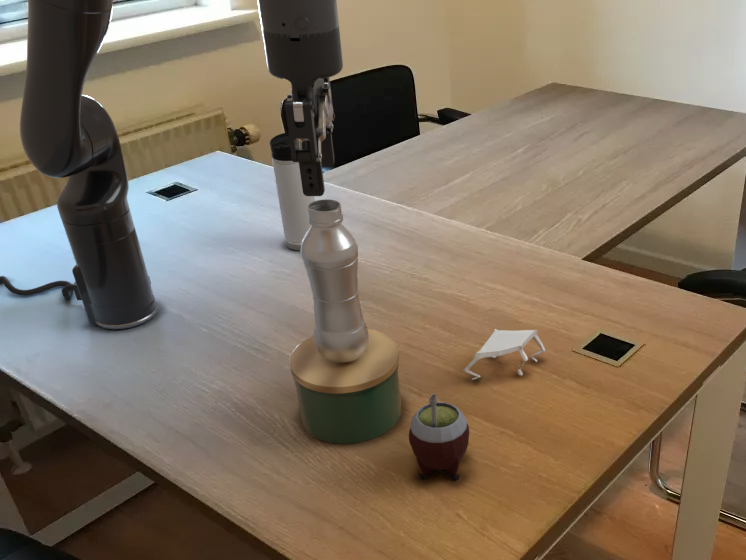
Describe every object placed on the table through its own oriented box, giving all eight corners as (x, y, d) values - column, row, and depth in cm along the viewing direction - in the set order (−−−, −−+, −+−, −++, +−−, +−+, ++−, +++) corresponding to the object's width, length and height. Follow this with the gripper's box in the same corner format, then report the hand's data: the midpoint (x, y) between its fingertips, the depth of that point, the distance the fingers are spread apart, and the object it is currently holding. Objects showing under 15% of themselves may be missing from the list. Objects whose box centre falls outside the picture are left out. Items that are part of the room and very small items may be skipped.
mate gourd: (444, 441, 102) (439, 340, 93) (486, 471, 97) (485, 368, 88) (397, 467, 97) (387, 365, 89) (438, 501, 93) (432, 396, 84)
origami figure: (502, 342, 121) (502, 314, 118) (547, 361, 116) (549, 332, 114) (449, 378, 113) (448, 348, 110) (496, 400, 109) (495, 370, 106)
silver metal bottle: (360, 372, 98) (342, 219, 87) (308, 366, 99) (284, 214, 88) (377, 344, 103) (362, 196, 92) (327, 338, 104) (307, 192, 93)
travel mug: (328, 240, 149) (315, 133, 138) (303, 253, 145) (287, 144, 133) (304, 232, 152) (288, 127, 141) (278, 245, 148) (260, 137, 136)
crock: (291, 446, 101) (280, 388, 95) (307, 383, 112) (298, 328, 107) (400, 443, 101) (395, 385, 96) (405, 381, 112) (401, 326, 107)
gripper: (274, 8, 85) (296, 157, 95) (246, 39, 74) (273, 206, 83) (346, 8, 86) (360, 157, 95) (329, 39, 74) (347, 205, 83)
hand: (319, 180), depth 89 cm, fingers open, 8 cm apart
